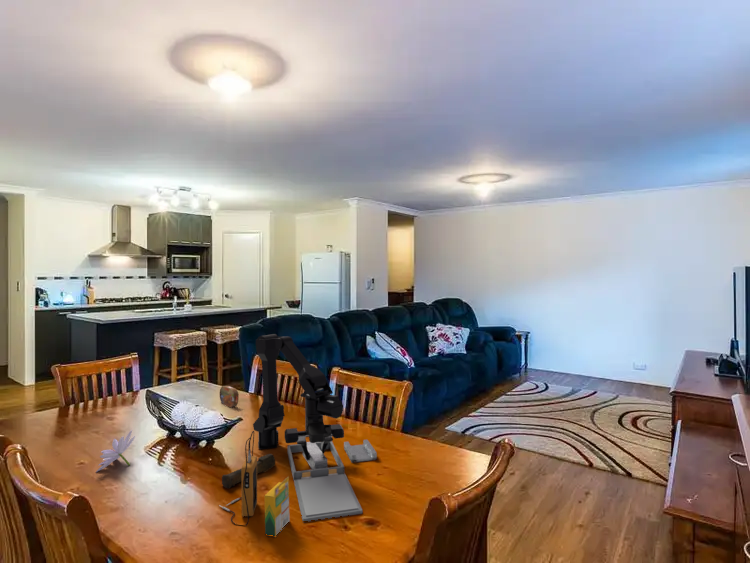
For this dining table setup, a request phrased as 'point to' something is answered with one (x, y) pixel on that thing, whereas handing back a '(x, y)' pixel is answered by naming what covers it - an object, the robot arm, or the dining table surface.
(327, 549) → the dining table surface
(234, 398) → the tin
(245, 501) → the multimeter
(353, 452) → the stay bracket
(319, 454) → the white square bar
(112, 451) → the lavender daisy flower
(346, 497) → the case
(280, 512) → the crayon box
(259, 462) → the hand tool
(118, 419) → the dining table surface
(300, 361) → the robot arm
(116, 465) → the dining table surface
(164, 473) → the dining table surface
